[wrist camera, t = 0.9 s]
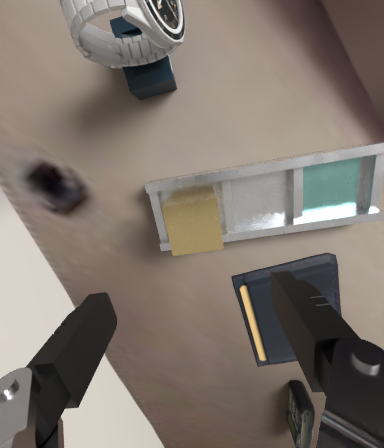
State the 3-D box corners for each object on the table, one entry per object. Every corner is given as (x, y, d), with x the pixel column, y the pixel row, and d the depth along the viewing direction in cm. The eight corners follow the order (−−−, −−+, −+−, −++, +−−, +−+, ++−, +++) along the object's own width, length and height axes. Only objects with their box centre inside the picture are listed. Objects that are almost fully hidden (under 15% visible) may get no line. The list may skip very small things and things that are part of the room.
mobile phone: (298, 409, 32) (297, 464, 36) (318, 409, 32) (314, 463, 36) (285, 377, 37) (285, 428, 41) (302, 376, 36) (300, 428, 41)
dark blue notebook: (349, 360, 32) (256, 374, 34) (342, 349, 34) (253, 363, 36) (346, 254, 26) (231, 278, 28) (336, 247, 28) (230, 271, 30)
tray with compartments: (150, 181, 25) (144, 184, 22) (371, 142, 23) (395, 140, 20) (165, 241, 28) (161, 251, 25) (363, 212, 25) (383, 219, 23)
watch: (194, 83, 21) (189, 18, 11) (124, 104, 22) (59, 62, 12) (181, 18, 20) (161, -131, 9) (106, 43, 21) (10, -68, 10)
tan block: (171, 192, 24) (161, 207, 18) (212, 185, 24) (216, 198, 17) (179, 230, 26) (172, 256, 19) (217, 224, 26) (223, 249, 19)
